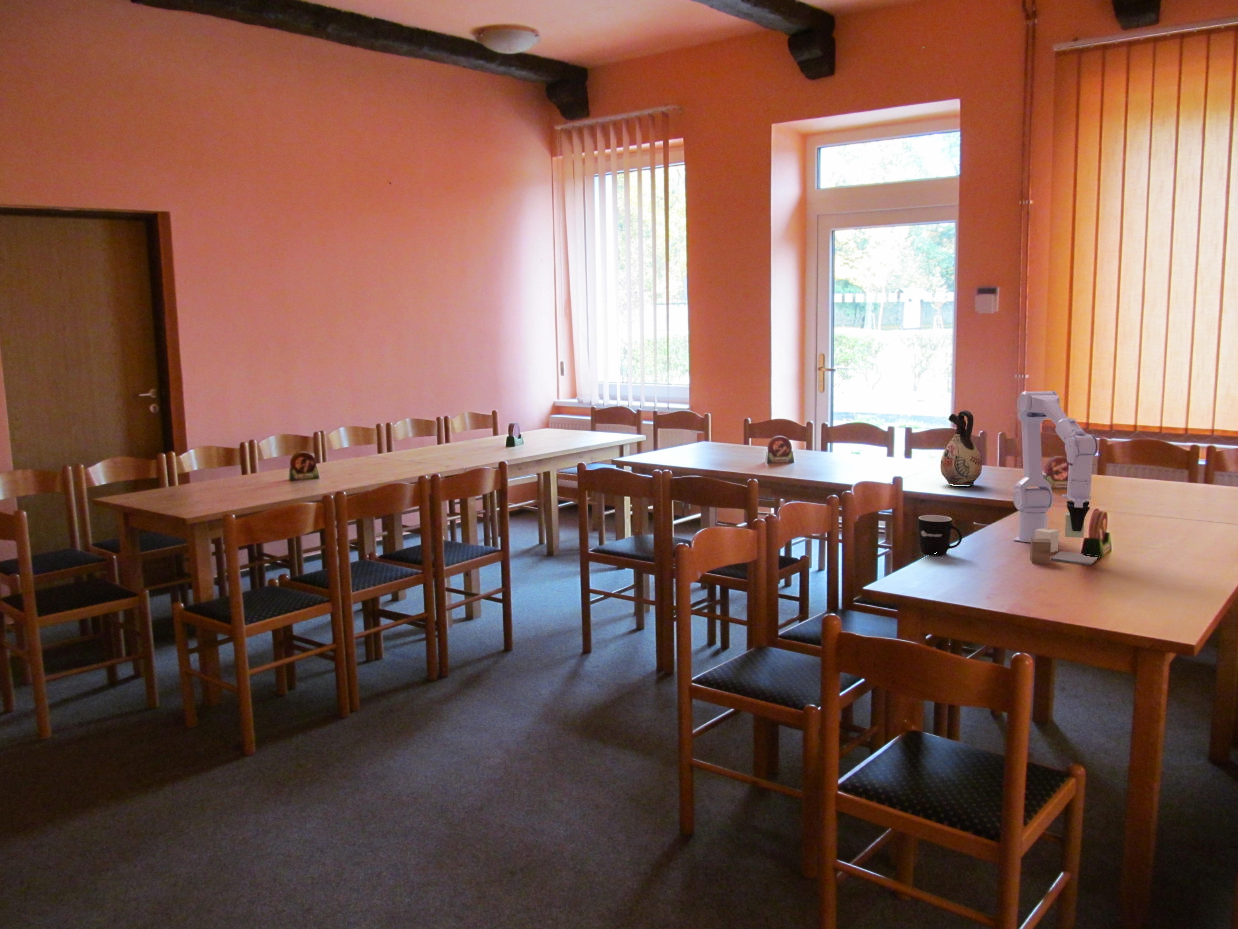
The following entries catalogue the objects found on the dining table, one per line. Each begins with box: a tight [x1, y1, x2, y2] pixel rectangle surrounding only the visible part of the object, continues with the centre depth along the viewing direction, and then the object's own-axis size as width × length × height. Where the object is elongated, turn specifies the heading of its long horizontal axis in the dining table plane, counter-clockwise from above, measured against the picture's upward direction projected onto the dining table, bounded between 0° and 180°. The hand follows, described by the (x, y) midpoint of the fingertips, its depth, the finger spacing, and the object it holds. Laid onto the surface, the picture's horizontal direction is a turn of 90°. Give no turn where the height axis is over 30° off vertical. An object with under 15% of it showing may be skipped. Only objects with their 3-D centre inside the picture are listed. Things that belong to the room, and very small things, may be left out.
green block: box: [1064, 511, 1085, 539], centre depth 267 cm, size 4×4×6 cm
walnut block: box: [1029, 538, 1051, 565], centre depth 265 cm, size 4×4×6 cm
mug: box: [917, 514, 963, 557], centre depth 275 cm, size 12×9×10 cm
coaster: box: [1050, 550, 1098, 566], centre depth 268 cm, size 10×10×1 cm
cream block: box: [1035, 527, 1060, 554], centre depth 278 cm, size 4×4×6 cm
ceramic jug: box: [939, 409, 983, 486], centre depth 382 cm, size 17×15×30 cm
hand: (1076, 529), depth 267 cm, fingers closed on green block, 4 cm apart
